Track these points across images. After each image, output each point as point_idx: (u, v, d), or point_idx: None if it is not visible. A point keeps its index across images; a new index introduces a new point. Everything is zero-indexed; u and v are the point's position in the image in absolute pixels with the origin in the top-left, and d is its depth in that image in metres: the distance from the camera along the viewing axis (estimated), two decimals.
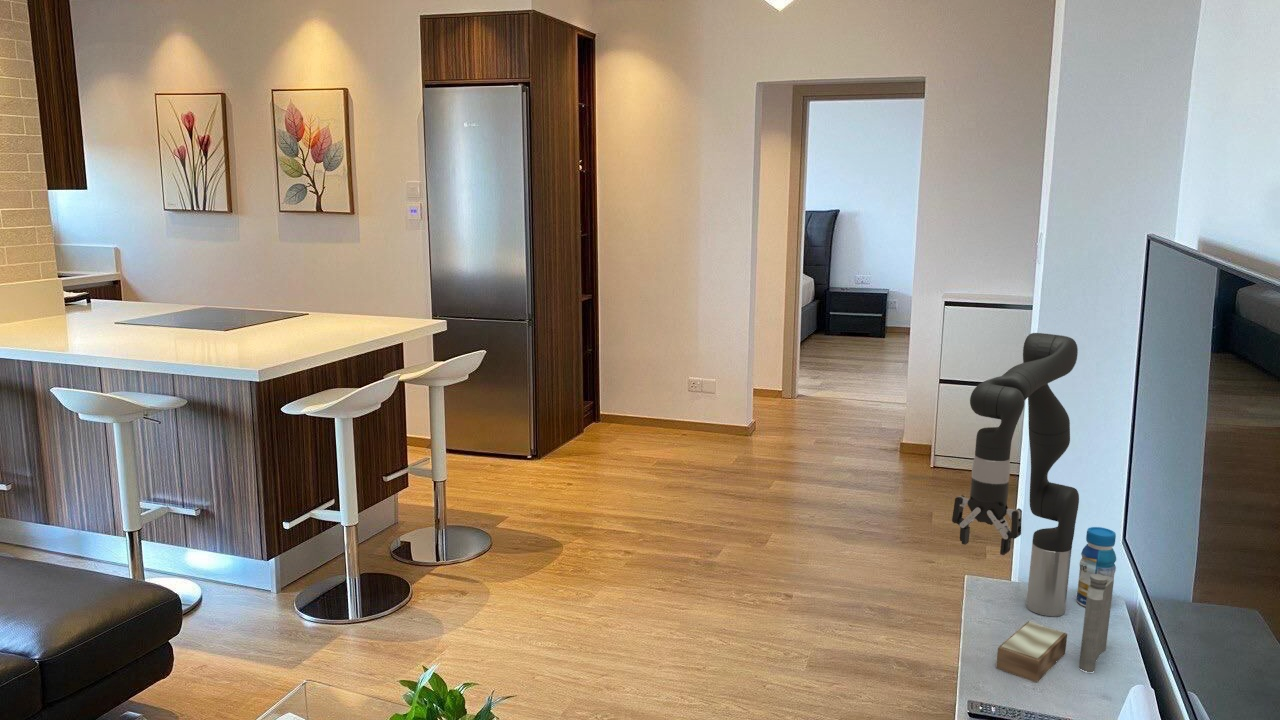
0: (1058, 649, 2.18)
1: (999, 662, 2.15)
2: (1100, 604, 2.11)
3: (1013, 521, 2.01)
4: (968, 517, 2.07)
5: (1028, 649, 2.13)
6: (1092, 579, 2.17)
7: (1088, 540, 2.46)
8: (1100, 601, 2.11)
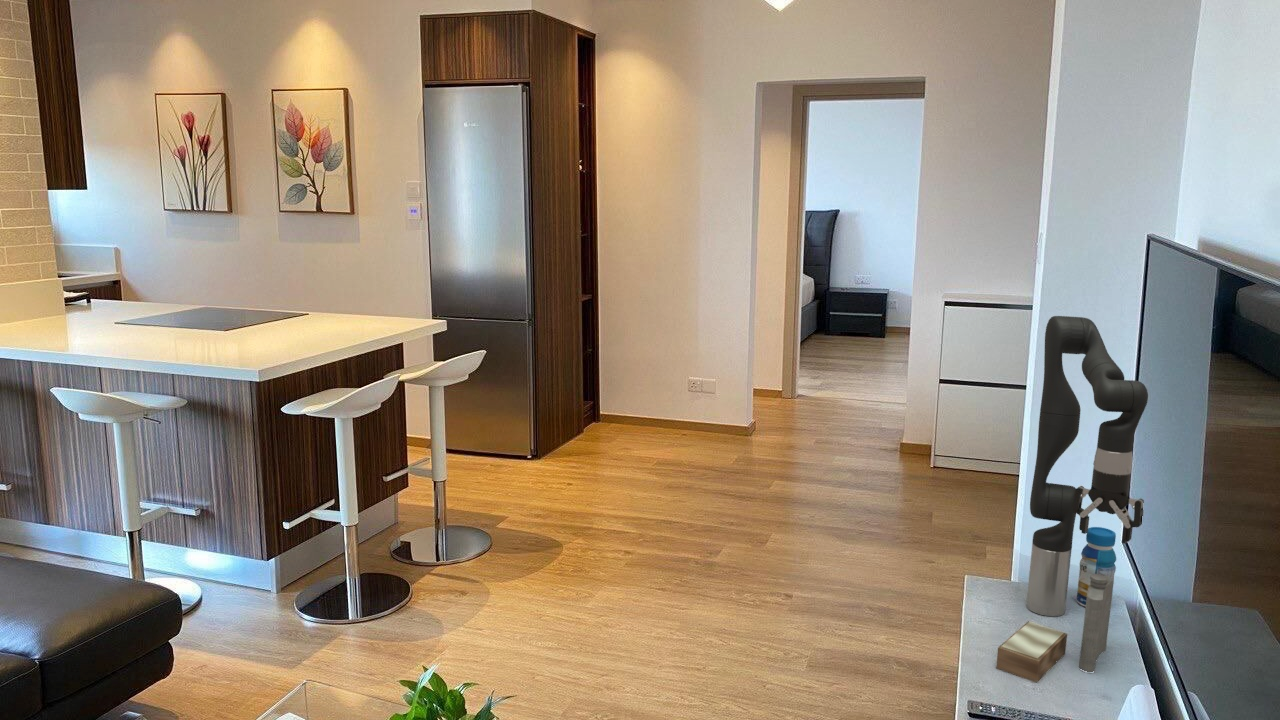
0: (1058, 649, 2.18)
1: (999, 662, 2.15)
2: (1100, 604, 2.11)
3: (1136, 510, 2.09)
4: (1089, 507, 2.15)
5: (1028, 649, 2.13)
6: (1092, 579, 2.17)
7: (1088, 540, 2.46)
8: (1100, 601, 2.11)
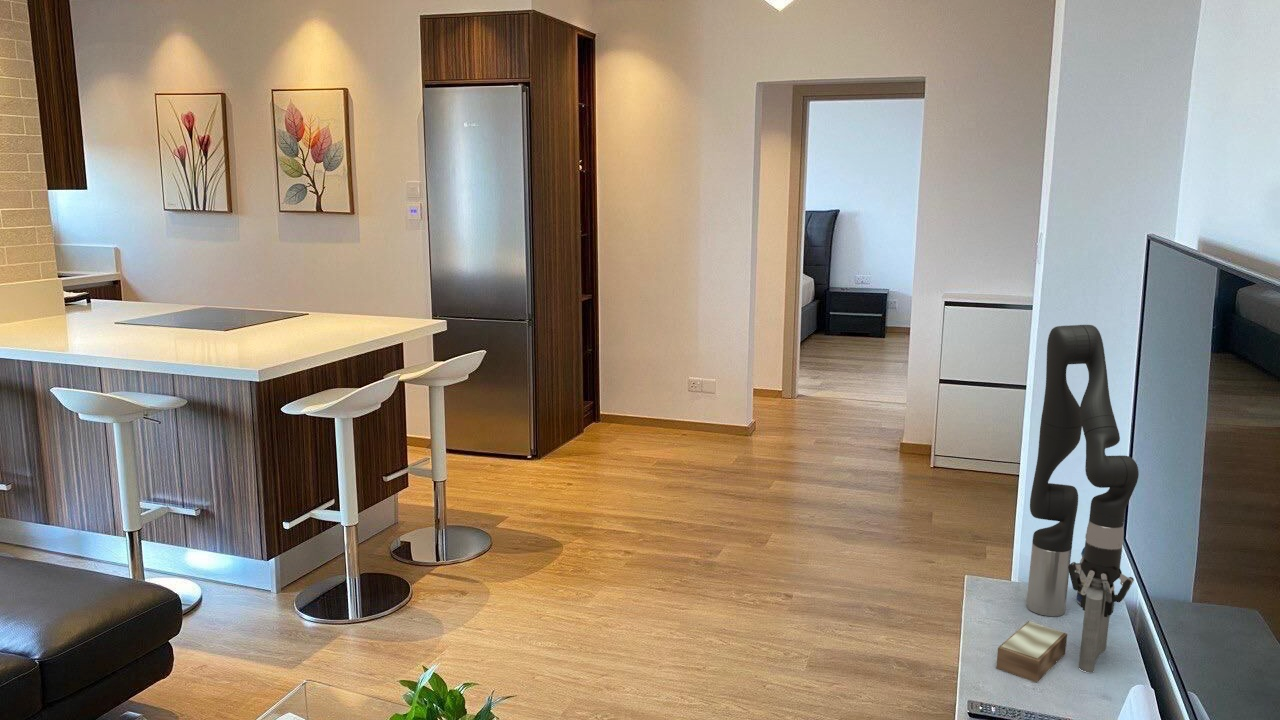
0: (1058, 649, 2.18)
1: (999, 662, 2.15)
2: (1099, 604, 2.11)
3: (1123, 588, 2.13)
4: (1086, 583, 2.17)
5: (1028, 649, 2.13)
6: (1092, 579, 2.17)
7: None
8: (1099, 601, 2.11)
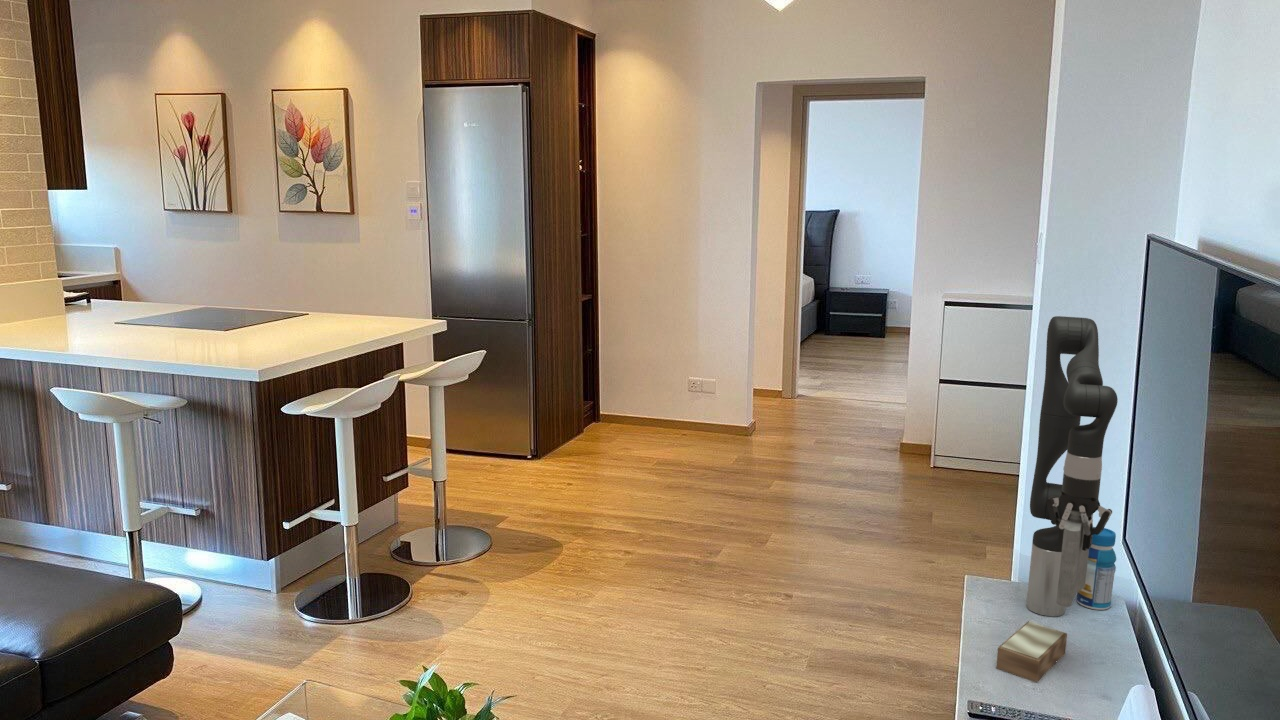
0: (1058, 649, 2.18)
1: (999, 662, 2.15)
2: (1077, 535, 2.07)
3: (1101, 519, 2.09)
4: (1064, 516, 2.14)
5: (1028, 649, 2.13)
6: None
7: None
8: (1077, 532, 2.07)
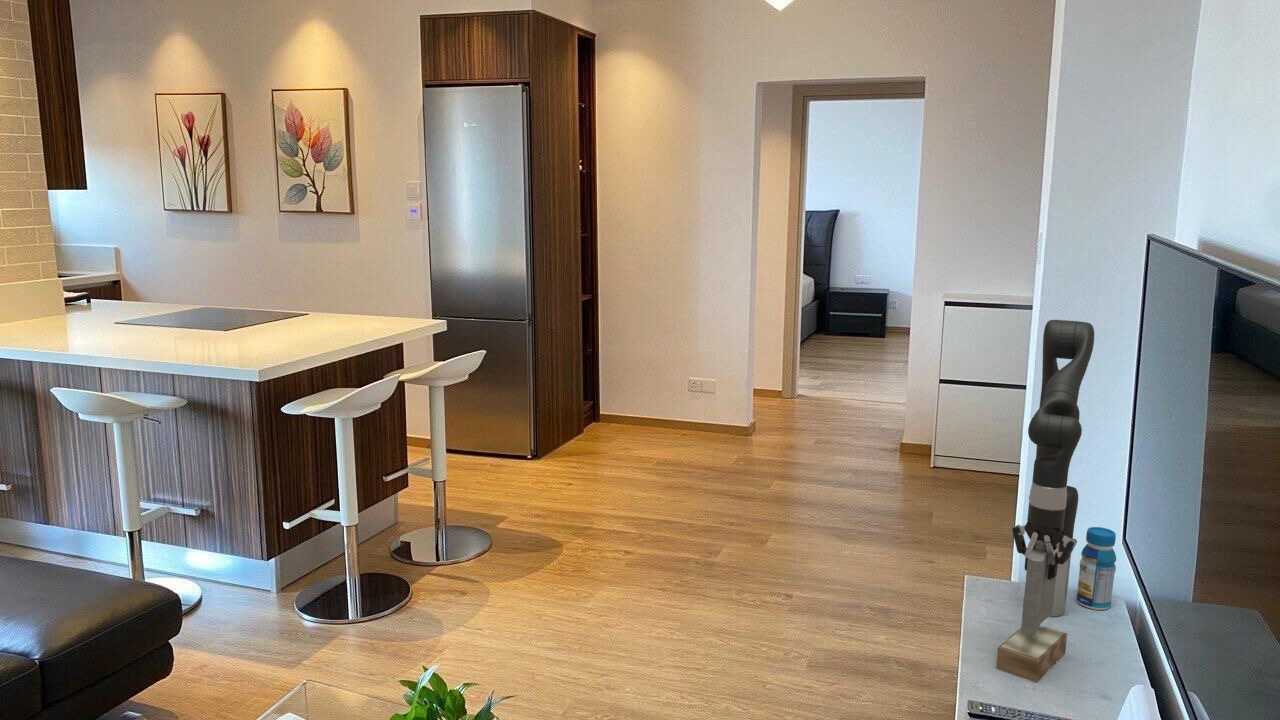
0: (1058, 649, 2.18)
1: (999, 662, 2.15)
2: (1040, 565, 2.07)
3: (1066, 549, 2.09)
4: (1029, 545, 2.14)
5: (1028, 649, 2.13)
6: (1035, 541, 2.13)
7: (1088, 540, 2.46)
8: (1040, 562, 2.07)
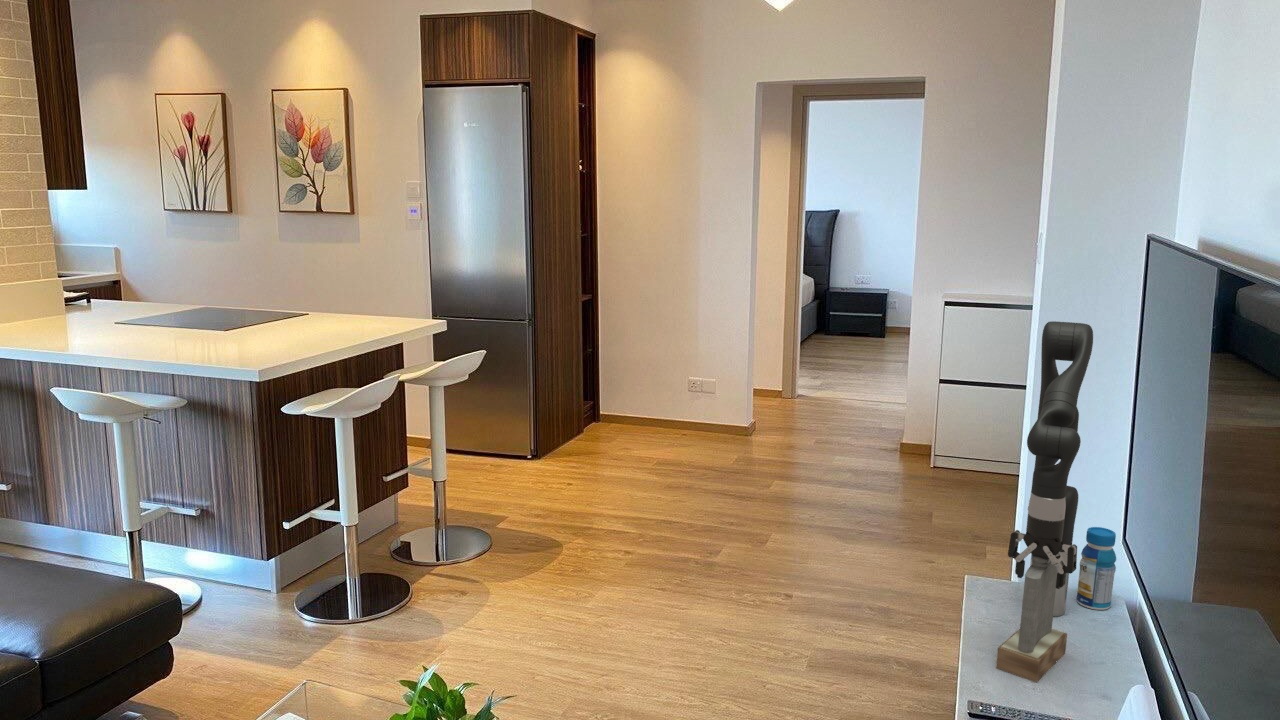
0: (1058, 649, 2.18)
1: (999, 662, 2.15)
2: (1037, 583, 2.08)
3: (1069, 557, 2.09)
4: (1024, 552, 2.15)
5: None
6: (1033, 558, 2.14)
7: (1088, 540, 2.46)
8: (1037, 580, 2.08)
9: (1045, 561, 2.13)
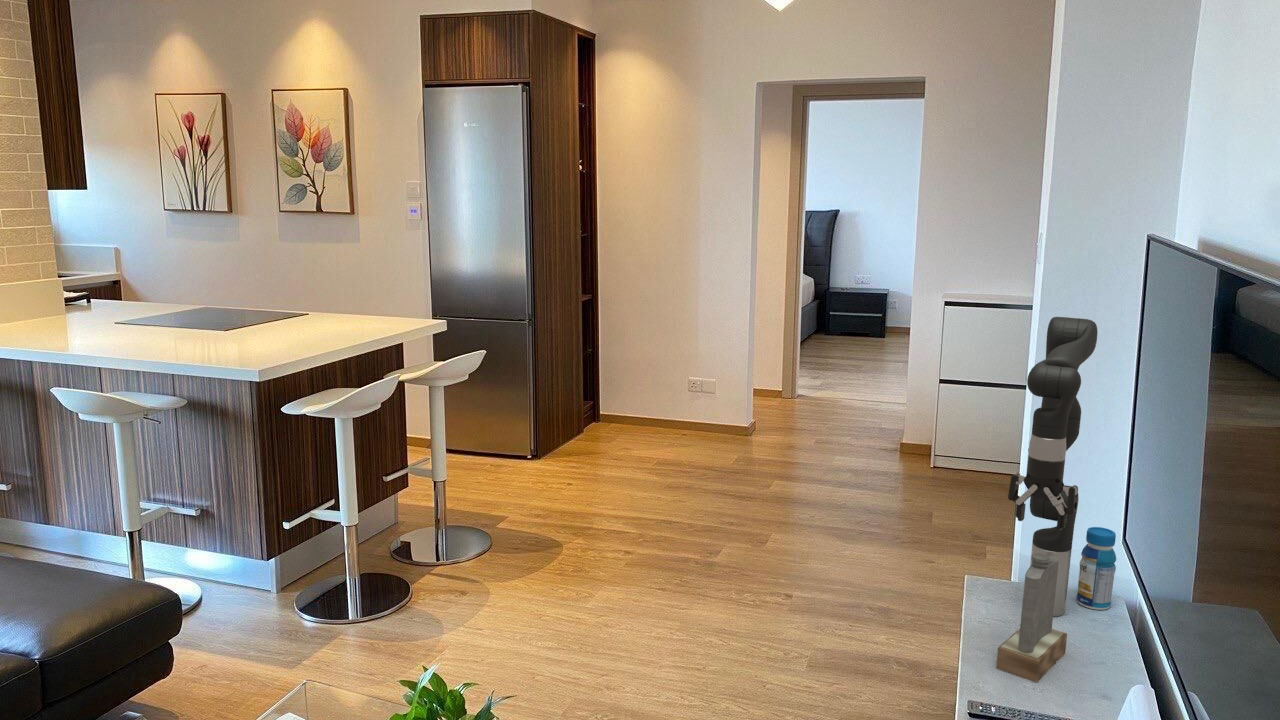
0: (1058, 649, 2.18)
1: (999, 662, 2.15)
2: (1037, 583, 2.08)
3: (1070, 497, 2.08)
4: (1024, 494, 2.14)
5: None
6: (1033, 558, 2.14)
7: (1088, 540, 2.46)
8: (1037, 580, 2.08)
9: (1045, 561, 2.13)
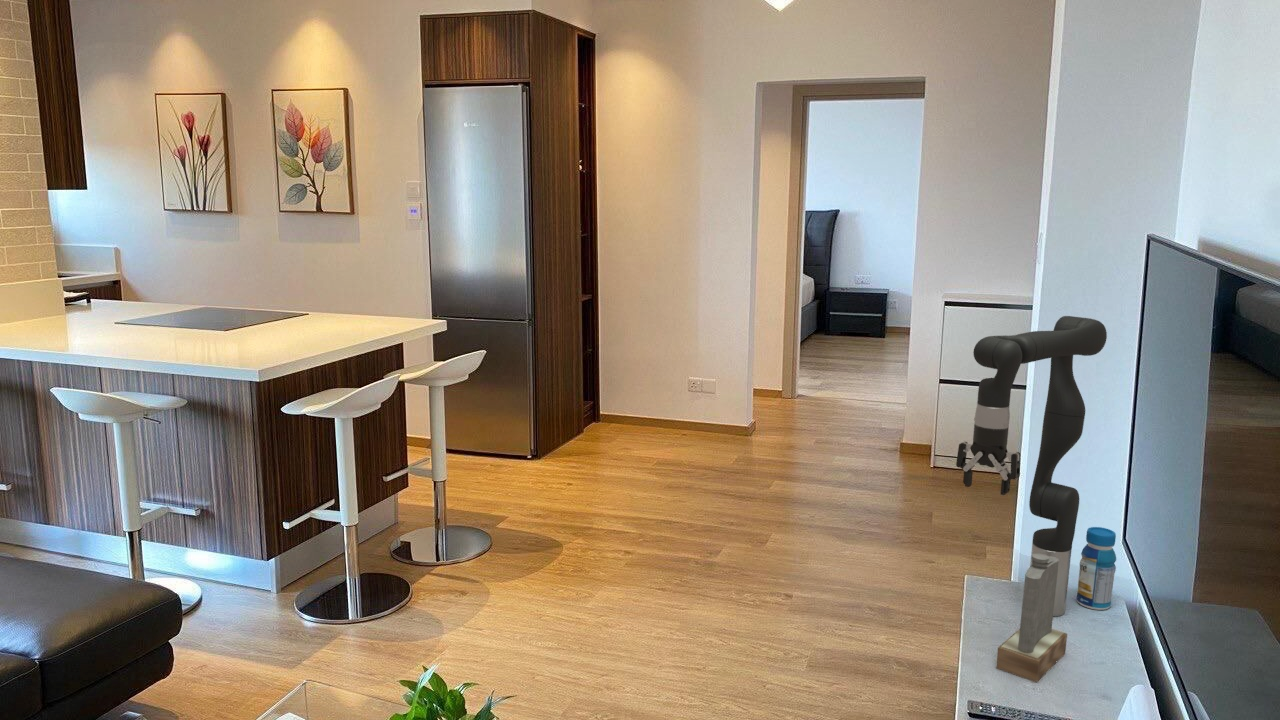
0: (1058, 649, 2.18)
1: (999, 662, 2.15)
2: (1037, 583, 2.08)
3: (1012, 463, 2.19)
4: (971, 461, 2.25)
5: None
6: (1033, 558, 2.14)
7: (1088, 540, 2.46)
8: (1037, 580, 2.08)
9: (1045, 561, 2.13)
